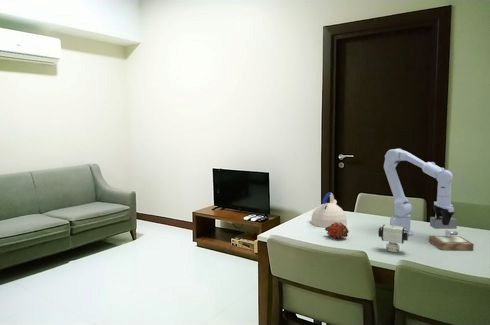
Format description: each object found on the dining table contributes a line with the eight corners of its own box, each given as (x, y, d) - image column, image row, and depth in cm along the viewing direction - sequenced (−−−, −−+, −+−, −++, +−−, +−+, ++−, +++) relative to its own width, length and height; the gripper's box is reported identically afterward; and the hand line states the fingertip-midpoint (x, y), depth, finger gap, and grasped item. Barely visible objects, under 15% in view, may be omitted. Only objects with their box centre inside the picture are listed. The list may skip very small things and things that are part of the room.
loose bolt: (448, 235, 175) (449, 231, 174) (445, 234, 177) (445, 230, 176) (459, 234, 176) (459, 230, 176) (455, 233, 178) (455, 229, 178)
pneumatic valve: (379, 247, 158) (380, 221, 157) (407, 251, 153) (408, 225, 151) (377, 250, 154) (378, 224, 153) (406, 255, 148) (407, 228, 147)
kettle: (351, 221, 202) (352, 191, 201) (340, 230, 185) (341, 197, 183) (318, 217, 213) (318, 188, 211) (305, 225, 196) (305, 193, 194)
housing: (434, 228, 164) (435, 217, 164) (429, 225, 169) (430, 215, 169) (456, 228, 164) (457, 217, 163) (450, 225, 169) (451, 215, 168)
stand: (440, 249, 154) (441, 242, 154) (429, 241, 165) (429, 235, 165) (473, 250, 153) (473, 243, 153) (459, 242, 164) (459, 235, 164)
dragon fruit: (349, 243, 168) (326, 242, 175) (352, 230, 174) (329, 229, 180) (344, 232, 164) (321, 232, 171) (347, 218, 170) (324, 219, 176)
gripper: (461, 198, 158) (459, 227, 159) (444, 192, 172) (443, 219, 173) (445, 198, 158) (444, 227, 159) (430, 192, 172) (429, 219, 174)
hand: (442, 223), depth 166 cm, fingers closed on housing, 5 cm apart
